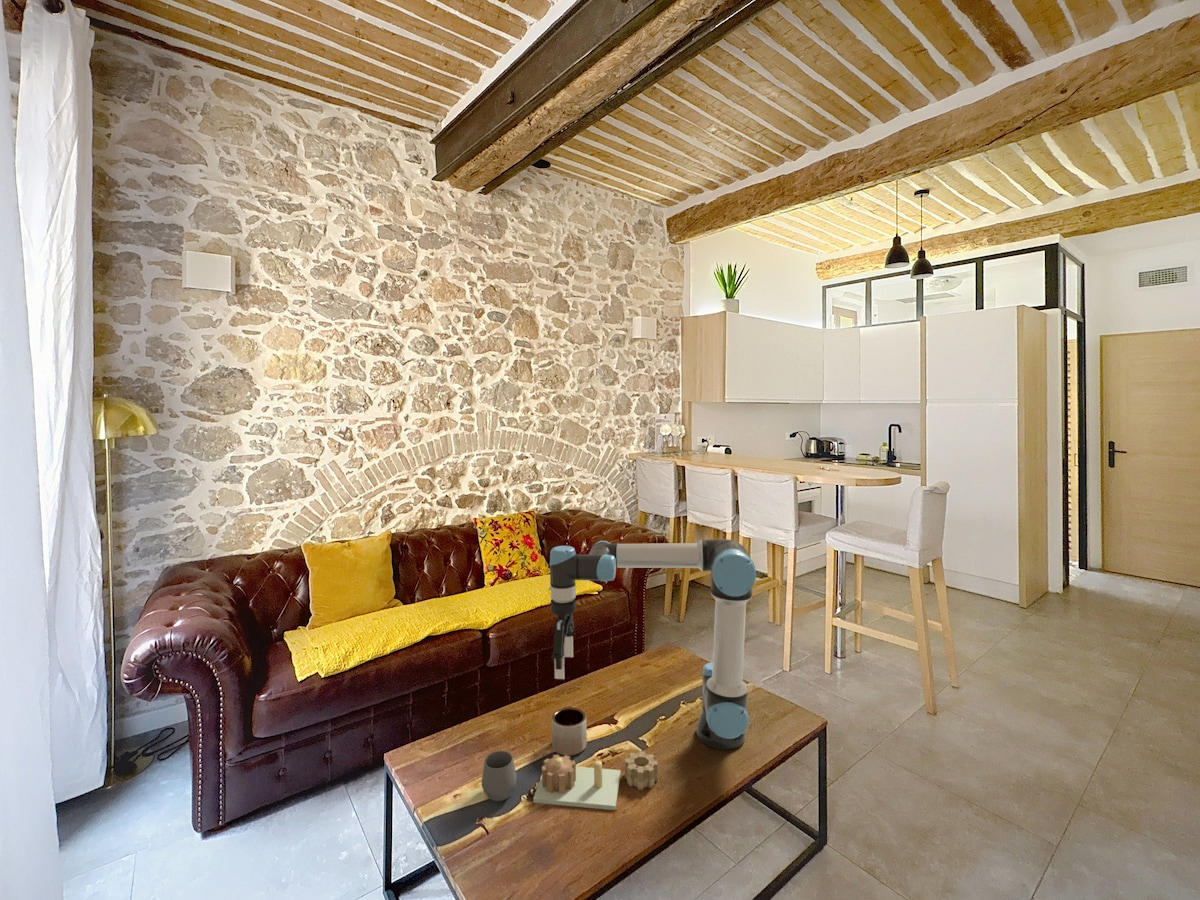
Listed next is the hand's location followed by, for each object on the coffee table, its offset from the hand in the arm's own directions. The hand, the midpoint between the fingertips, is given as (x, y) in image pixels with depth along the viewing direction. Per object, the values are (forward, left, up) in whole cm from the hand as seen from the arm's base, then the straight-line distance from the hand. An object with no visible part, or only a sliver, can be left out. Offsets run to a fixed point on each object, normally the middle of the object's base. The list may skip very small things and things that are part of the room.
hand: (564, 667), depth 164 cm
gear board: (-7, +15, -27) cm, 31 cm away
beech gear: (-24, +9, -27) cm, 37 cm away
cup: (+14, +20, -27) cm, 37 cm away
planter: (-1, -3, -27) cm, 27 cm away
